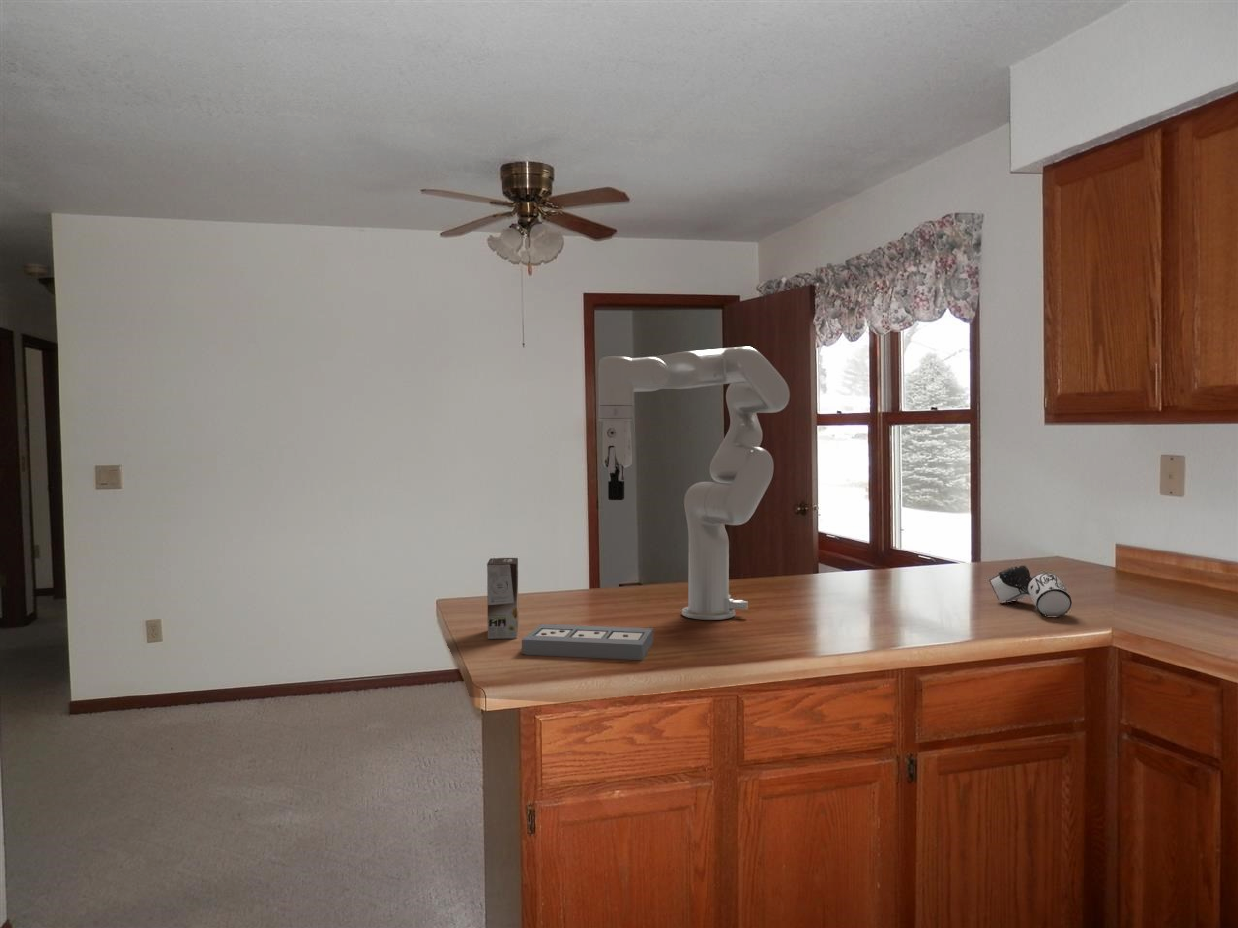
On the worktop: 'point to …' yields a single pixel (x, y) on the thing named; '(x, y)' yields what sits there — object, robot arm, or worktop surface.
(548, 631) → the tile three
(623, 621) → the worktop surface
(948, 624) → the worktop surface
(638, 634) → the tile one
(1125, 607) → the worktop surface
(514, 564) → the coffee box
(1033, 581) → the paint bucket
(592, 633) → the tile two
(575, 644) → the board
